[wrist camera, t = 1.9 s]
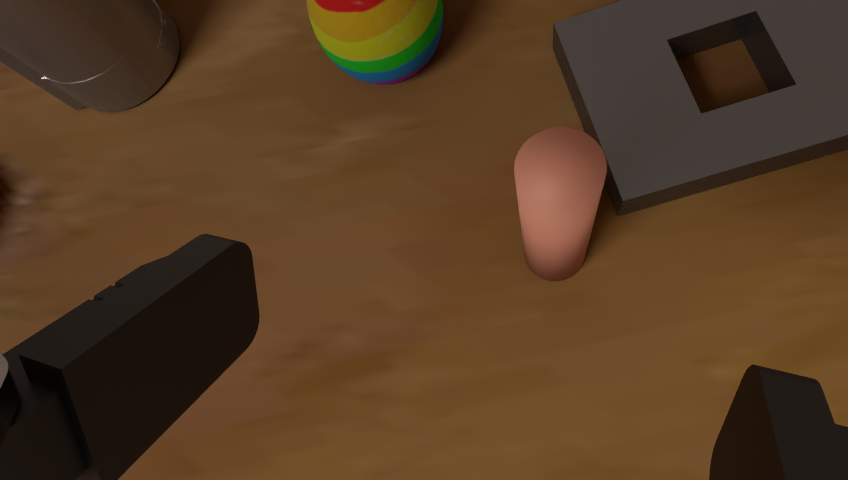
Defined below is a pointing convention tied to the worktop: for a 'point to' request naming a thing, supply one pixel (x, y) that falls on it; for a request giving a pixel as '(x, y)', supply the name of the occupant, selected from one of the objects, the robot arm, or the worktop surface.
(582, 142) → the peg
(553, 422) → the worktop surface
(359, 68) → the decorative egg
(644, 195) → the socket plate
